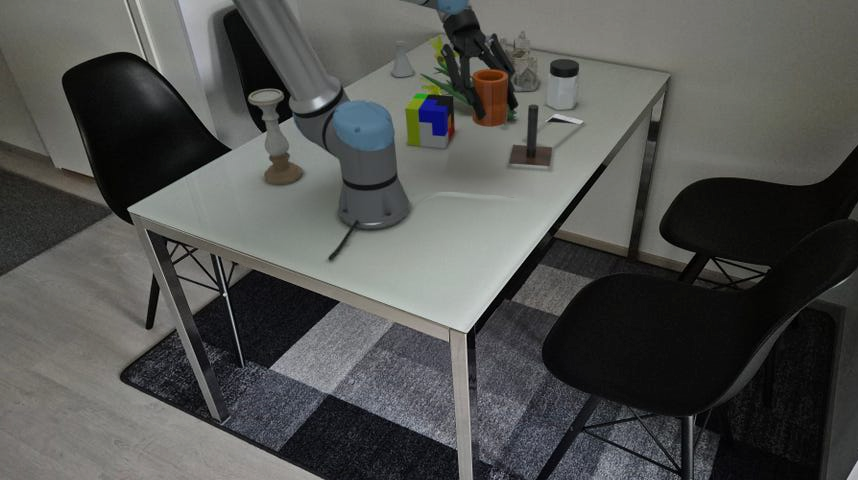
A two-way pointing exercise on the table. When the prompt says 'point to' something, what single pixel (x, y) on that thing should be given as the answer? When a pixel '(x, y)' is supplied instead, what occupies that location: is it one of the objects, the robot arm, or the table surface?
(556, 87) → the jar
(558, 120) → the cell phone
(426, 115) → the puzzle toy
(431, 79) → the daffodil flowers
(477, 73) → the orange hollow cylinder
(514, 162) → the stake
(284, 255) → the table surface
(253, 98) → the candle holder
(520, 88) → the ceramic cottage
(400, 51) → the flask
